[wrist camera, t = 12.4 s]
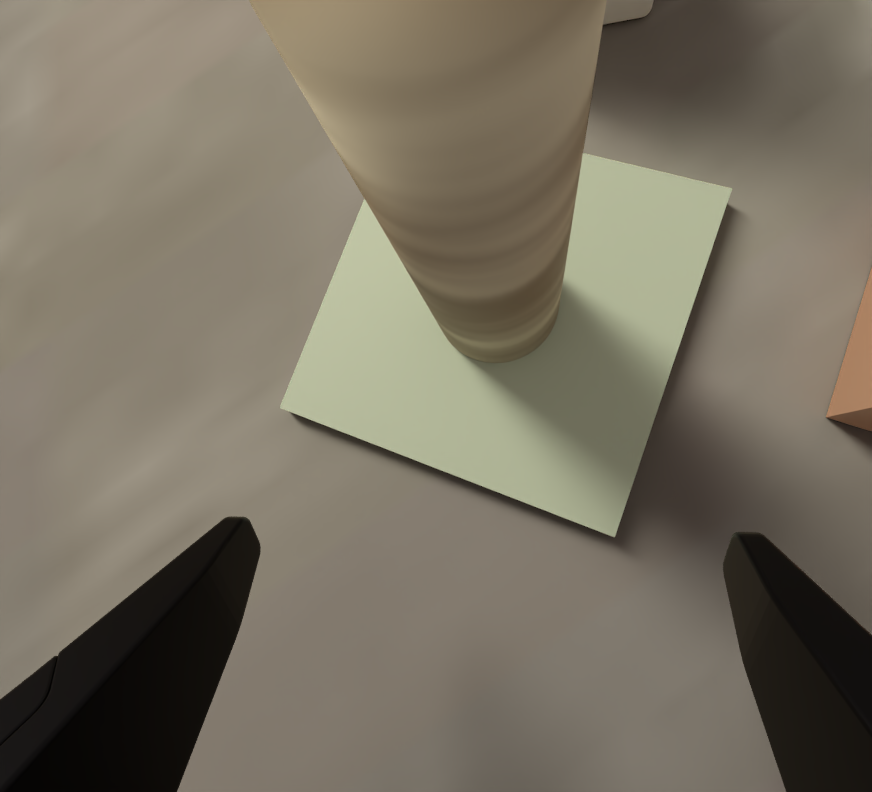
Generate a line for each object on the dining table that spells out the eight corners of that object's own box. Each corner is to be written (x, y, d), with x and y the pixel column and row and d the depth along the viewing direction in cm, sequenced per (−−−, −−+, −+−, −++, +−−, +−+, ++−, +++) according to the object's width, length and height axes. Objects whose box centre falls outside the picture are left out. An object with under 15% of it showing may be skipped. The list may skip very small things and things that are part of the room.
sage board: (610, 535, 19) (614, 537, 18) (288, 410, 21) (279, 407, 20) (724, 200, 20) (732, 188, 19) (405, 122, 22) (400, 109, 22)
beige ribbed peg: (573, 344, 19) (681, -11, 5) (451, 376, 20) (268, 130, 6) (540, 231, 20) (561, -320, 6) (425, 265, 20) (213, -172, 7)
